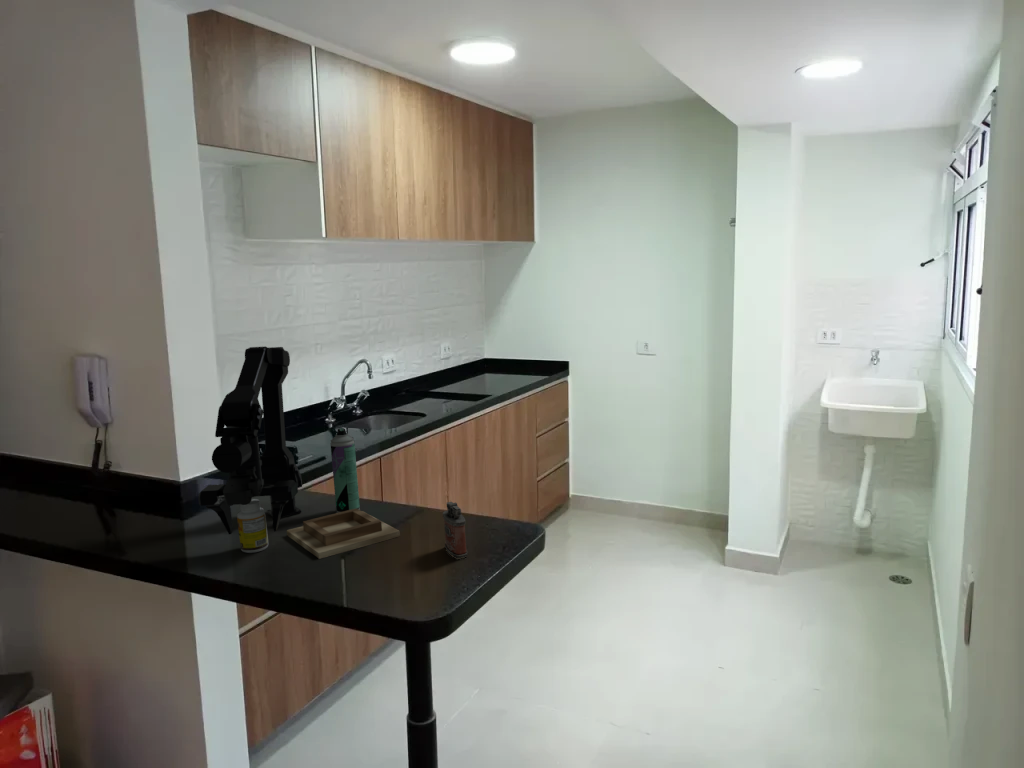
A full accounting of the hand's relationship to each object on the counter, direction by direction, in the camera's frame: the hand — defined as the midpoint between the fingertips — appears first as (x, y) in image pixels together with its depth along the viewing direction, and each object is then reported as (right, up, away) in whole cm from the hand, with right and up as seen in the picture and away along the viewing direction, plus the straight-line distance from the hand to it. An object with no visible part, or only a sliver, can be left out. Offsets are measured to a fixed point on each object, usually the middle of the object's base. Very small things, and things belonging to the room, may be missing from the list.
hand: (253, 532), depth 155 cm
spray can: (+15, 0, +22) cm, 27 cm away
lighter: (+43, -3, -7) cm, 43 cm away
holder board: (+17, -2, +6) cm, 18 cm away
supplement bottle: (0, -4, +1) cm, 4 cm away
